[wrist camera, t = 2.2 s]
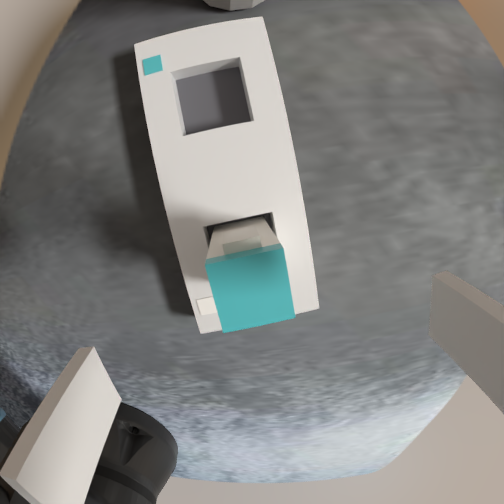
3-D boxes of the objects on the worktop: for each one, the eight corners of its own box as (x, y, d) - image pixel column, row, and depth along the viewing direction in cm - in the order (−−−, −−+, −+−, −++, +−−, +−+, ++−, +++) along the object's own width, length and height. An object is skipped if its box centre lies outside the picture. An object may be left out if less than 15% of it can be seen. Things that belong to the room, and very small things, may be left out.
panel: (203, 317, 28) (200, 334, 25) (143, 56, 21) (133, 44, 18) (310, 294, 28) (319, 309, 25) (258, 31, 21) (262, 16, 18)
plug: (225, 272, 26) (223, 333, 16) (212, 219, 25) (201, 253, 15) (271, 262, 26) (295, 317, 16) (261, 209, 25) (281, 236, 15)
